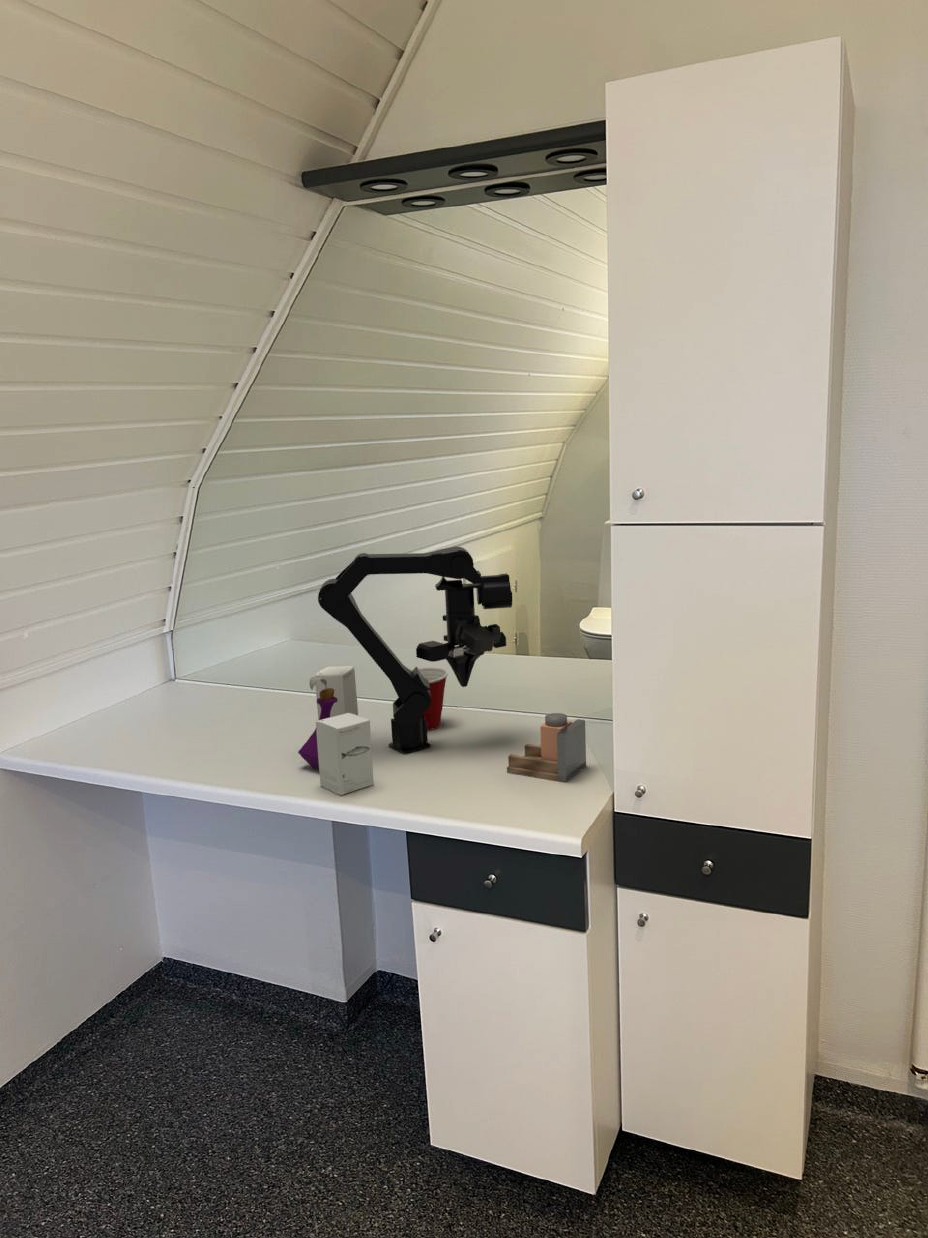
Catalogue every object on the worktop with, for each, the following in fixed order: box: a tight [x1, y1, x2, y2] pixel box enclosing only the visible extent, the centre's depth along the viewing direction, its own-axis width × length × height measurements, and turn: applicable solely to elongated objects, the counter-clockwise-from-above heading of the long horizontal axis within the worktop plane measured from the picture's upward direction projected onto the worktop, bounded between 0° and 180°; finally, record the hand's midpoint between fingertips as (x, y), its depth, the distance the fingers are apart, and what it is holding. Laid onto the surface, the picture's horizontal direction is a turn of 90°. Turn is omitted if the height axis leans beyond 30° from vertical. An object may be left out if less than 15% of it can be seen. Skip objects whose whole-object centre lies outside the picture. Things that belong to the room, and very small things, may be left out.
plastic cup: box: [410, 666, 449, 731], centre depth 203 cm, size 11×11×12 cm
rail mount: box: [506, 718, 587, 783], centre depth 174 cm, size 12×9×9 cm
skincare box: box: [313, 665, 359, 721], centre depth 195 cm, size 8×7×16 cm
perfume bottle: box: [297, 676, 338, 770], centre depth 181 cm, size 8×8×18 cm
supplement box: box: [315, 713, 375, 796], centre depth 171 cm, size 7×7×13 cm
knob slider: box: [539, 712, 573, 762], centre depth 173 cm, size 4×5×9 cm
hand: (463, 686), depth 190 cm, fingers closed
